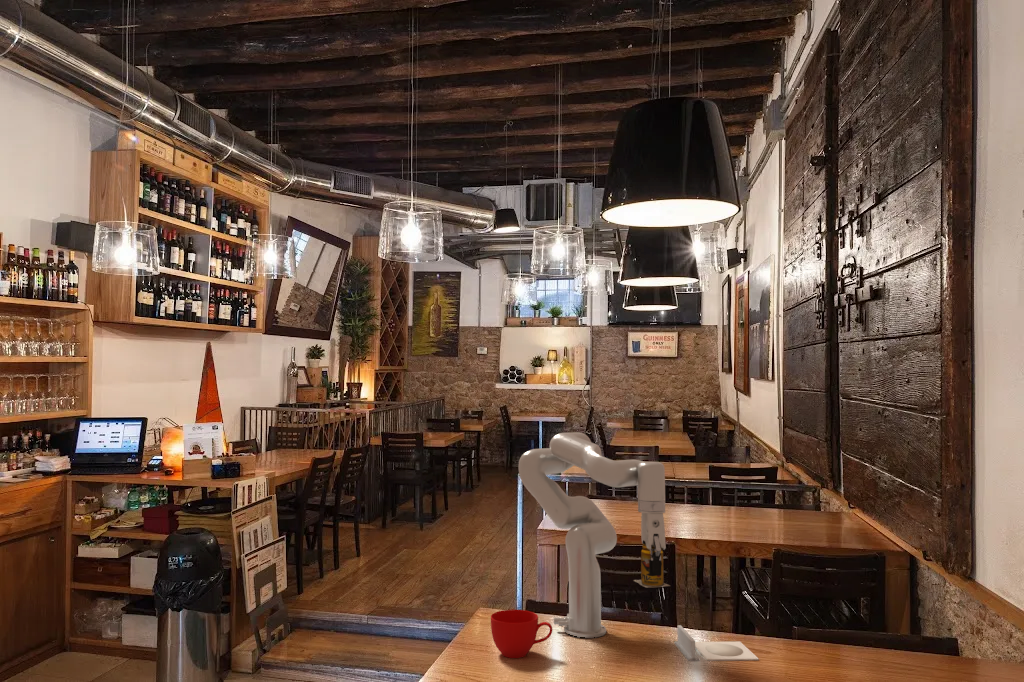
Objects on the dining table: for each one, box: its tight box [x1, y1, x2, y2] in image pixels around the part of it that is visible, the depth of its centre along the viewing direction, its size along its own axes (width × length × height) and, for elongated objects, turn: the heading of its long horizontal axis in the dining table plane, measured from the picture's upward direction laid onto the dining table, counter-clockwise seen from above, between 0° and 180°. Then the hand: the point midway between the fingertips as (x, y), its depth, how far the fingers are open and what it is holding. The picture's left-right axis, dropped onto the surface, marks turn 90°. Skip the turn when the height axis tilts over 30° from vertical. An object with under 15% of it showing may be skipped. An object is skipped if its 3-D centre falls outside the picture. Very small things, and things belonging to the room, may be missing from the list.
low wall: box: [673, 624, 700, 662], centre depth 195 cm, size 3×14×5 cm, turn 2°
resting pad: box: [695, 641, 760, 662], centre depth 196 cm, size 14×14×1 cm
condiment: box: [632, 540, 671, 589], centre depth 198 cm, size 7×8×12 cm
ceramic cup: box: [490, 609, 553, 659], centre depth 193 cm, size 13×17×10 cm
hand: (652, 571), depth 197 cm, fingers closed on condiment, 6 cm apart
